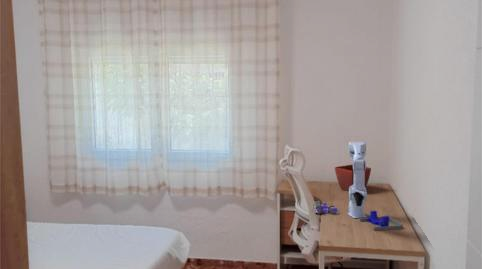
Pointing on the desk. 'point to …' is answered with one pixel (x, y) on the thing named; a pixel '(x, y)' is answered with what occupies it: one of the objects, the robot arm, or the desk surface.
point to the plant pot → (349, 176)
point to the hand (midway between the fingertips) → (358, 205)
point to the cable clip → (375, 220)
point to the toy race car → (325, 208)
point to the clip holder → (397, 226)
